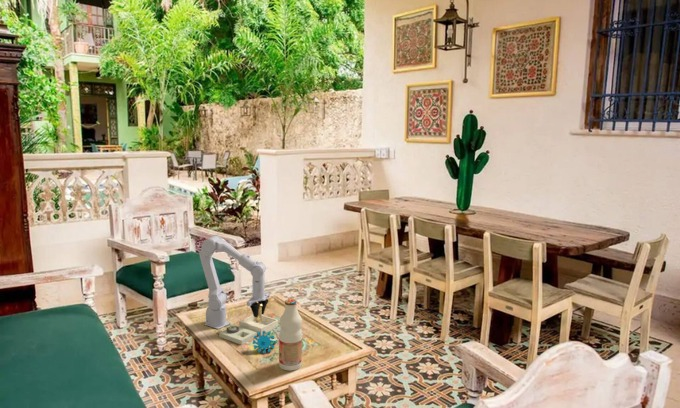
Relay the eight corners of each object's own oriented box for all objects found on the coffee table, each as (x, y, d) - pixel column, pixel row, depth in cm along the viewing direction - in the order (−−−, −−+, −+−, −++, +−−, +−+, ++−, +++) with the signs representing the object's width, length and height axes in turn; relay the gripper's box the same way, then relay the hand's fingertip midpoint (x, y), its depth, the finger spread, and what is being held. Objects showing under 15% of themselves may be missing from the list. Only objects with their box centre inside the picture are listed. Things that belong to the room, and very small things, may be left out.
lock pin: (252, 321, 225) (252, 304, 224) (257, 319, 229) (258, 302, 228) (258, 323, 223) (259, 305, 222) (264, 321, 226) (264, 303, 226)
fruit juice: (291, 373, 186) (292, 307, 181) (274, 366, 191) (274, 301, 186) (306, 364, 193) (307, 300, 188) (289, 357, 198) (290, 294, 194)
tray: (239, 328, 225) (239, 321, 225) (256, 319, 236) (256, 313, 235) (261, 335, 218) (261, 328, 218) (278, 326, 228) (278, 319, 228)
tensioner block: (219, 336, 216) (219, 328, 215) (234, 329, 224) (234, 321, 224) (241, 344, 209) (241, 336, 208) (256, 336, 217) (256, 328, 216)
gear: (252, 352, 199) (253, 329, 204) (250, 357, 203) (250, 334, 209) (278, 352, 202) (278, 330, 208) (275, 357, 206) (275, 335, 212)
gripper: (254, 294, 215) (254, 322, 218) (274, 285, 228) (274, 312, 230) (243, 291, 219) (243, 318, 221) (263, 283, 231) (263, 309, 234)
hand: (258, 315), depth 226 cm, fingers closed on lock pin, 4 cm apart
